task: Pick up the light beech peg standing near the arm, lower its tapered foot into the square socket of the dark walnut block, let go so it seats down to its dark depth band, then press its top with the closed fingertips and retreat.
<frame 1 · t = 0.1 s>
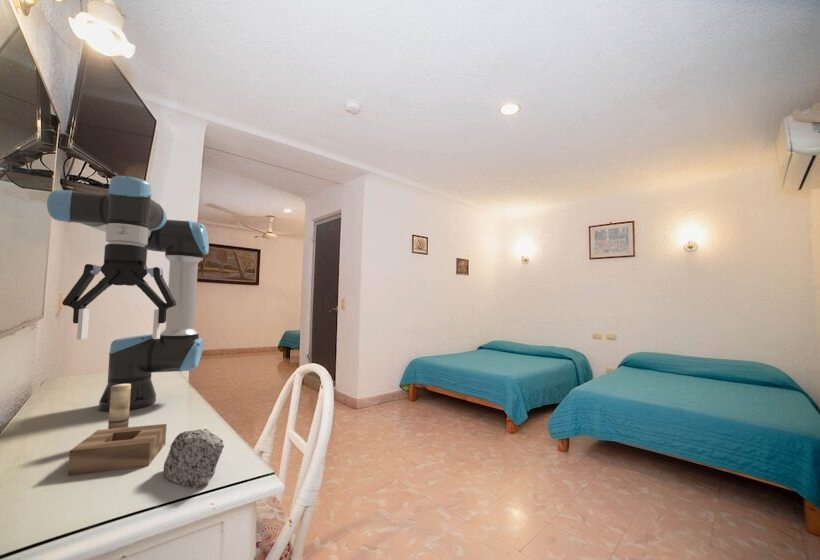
hand: (120, 338, 78), 28 cm above the table, fingers open, 13 cm apart
board: (121, 458, 79), on the table
rock: (192, 477, 72), on the table
peg: (117, 440, 89), on the table
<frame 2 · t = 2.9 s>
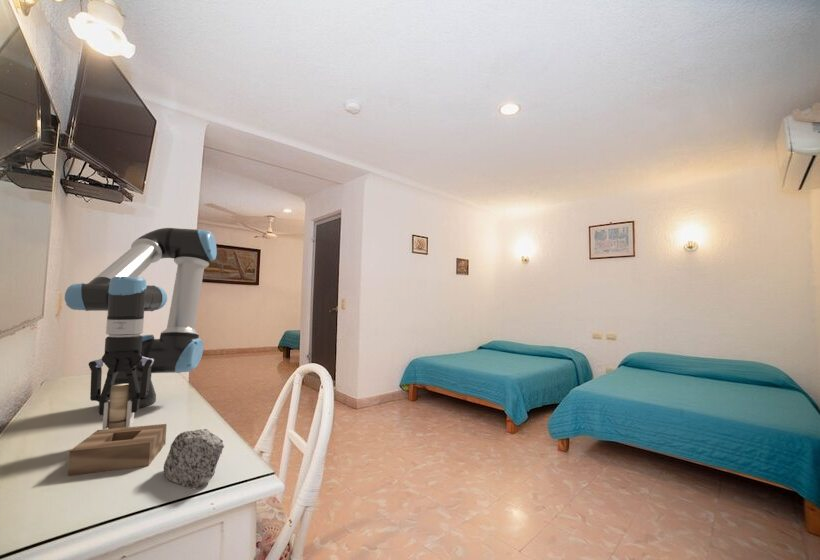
hand: (118, 426, 89), 4 cm above the table, fingers closed on peg, 4 cm apart
peg: (117, 440, 89), on the table, touching gripper
everything else where it was.
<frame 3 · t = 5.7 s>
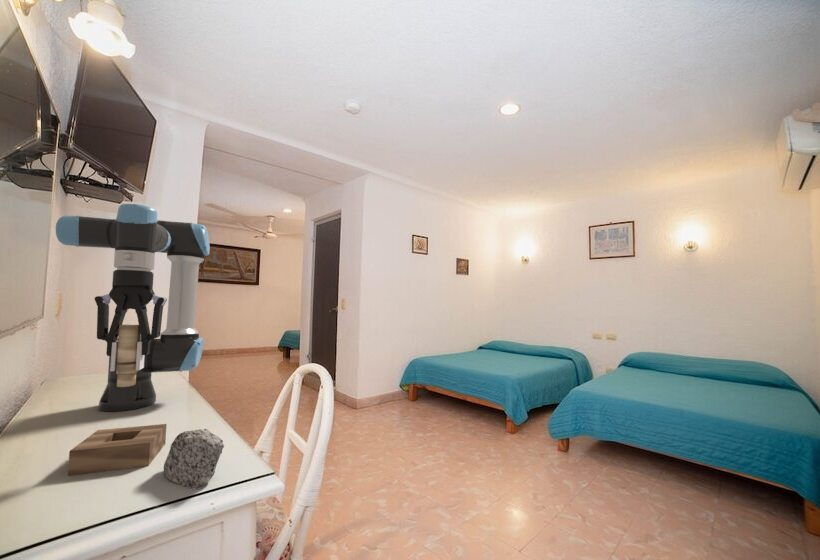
hand: (127, 369, 80), 20 cm above the table, fingers closed on peg, 4 cm apart
peg: (126, 385, 80), point 17 cm above the table, touching gripper
everything else where it was.
when the fingers open (6 cm above the table, at t = 8.4 s): peg drops 2 cm, resting in board.
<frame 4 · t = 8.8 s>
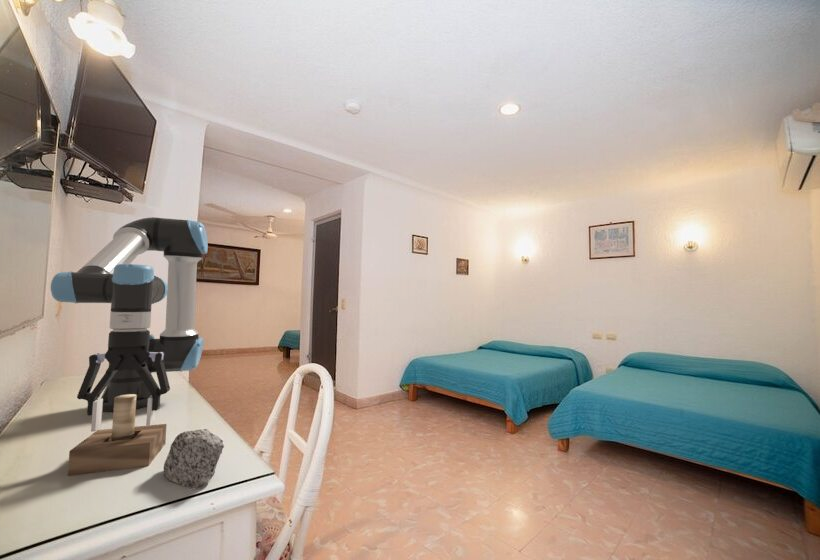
hand: (123, 426, 80), 7 cm above the table, fingers open, 9 cm apart
peg: (121, 458, 79), resting in board
everything else where it was.
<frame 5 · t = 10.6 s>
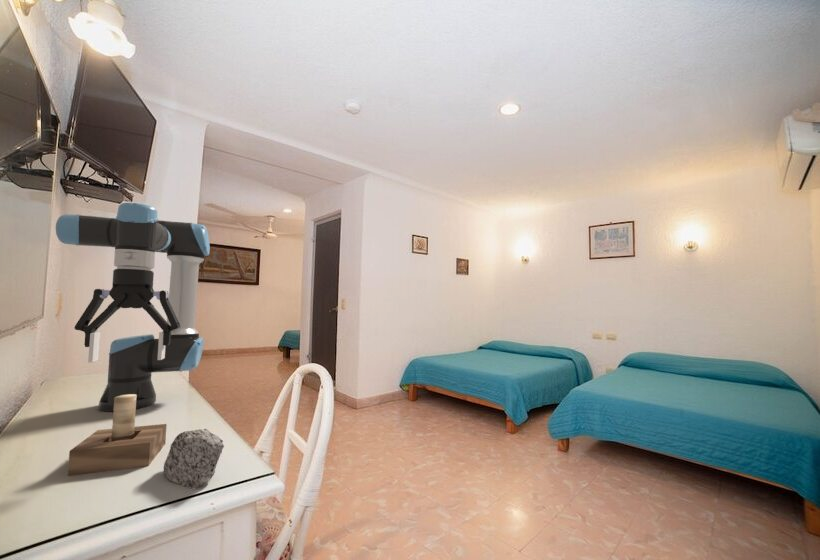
hand: (128, 360, 81), 22 cm above the table, fingers open, 12 cm apart
nothing on the table moved.
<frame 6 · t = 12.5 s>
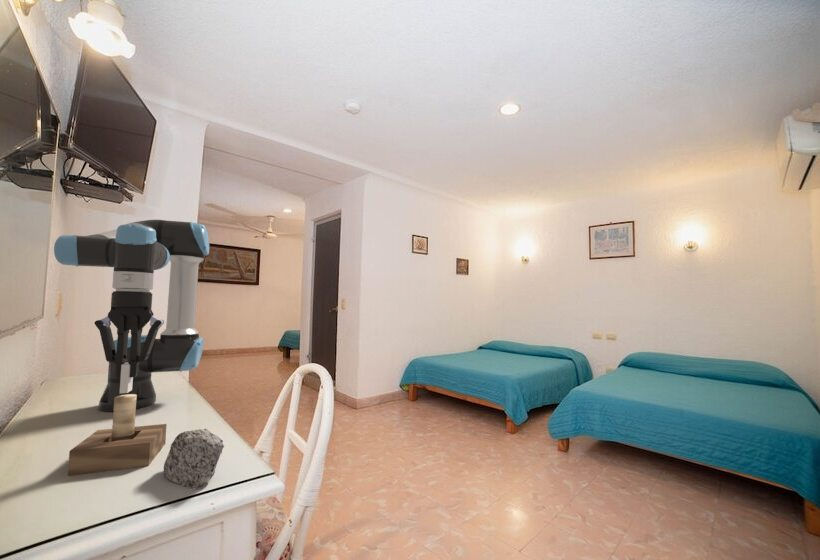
hand: (125, 391, 80), 15 cm above the table, fingers closed
nothing on the table moved.
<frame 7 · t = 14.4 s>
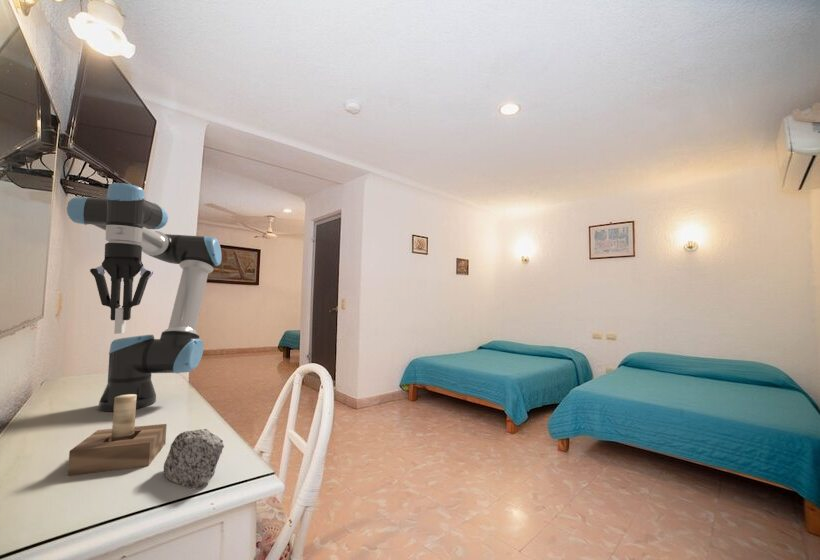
hand: (119, 332, 90), 28 cm above the table, fingers closed
nothing on the table moved.
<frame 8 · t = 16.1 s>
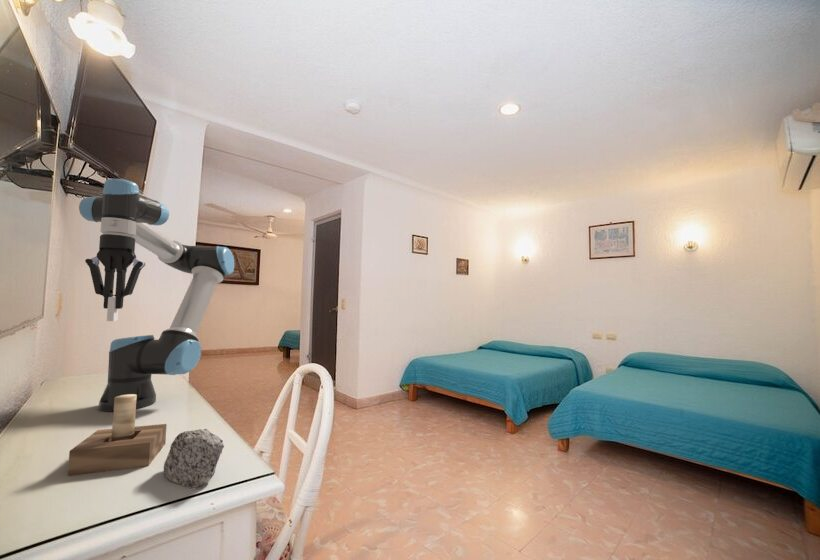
hand: (112, 320, 94), 30 cm above the table, fingers closed
nothing on the table moved.
at the end: peg 0.0 cm off-centre on the board, point 0.0 cm above the board's base; peg tilted 0°; the gripper is holding nothing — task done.
